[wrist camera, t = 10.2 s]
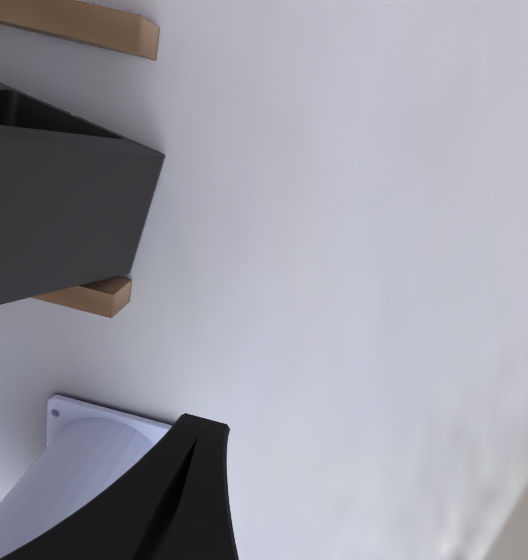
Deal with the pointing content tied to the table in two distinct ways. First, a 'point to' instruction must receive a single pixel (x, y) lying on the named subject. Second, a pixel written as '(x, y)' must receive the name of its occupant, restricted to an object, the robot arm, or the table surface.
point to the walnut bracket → (105, 34)
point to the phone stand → (67, 198)
